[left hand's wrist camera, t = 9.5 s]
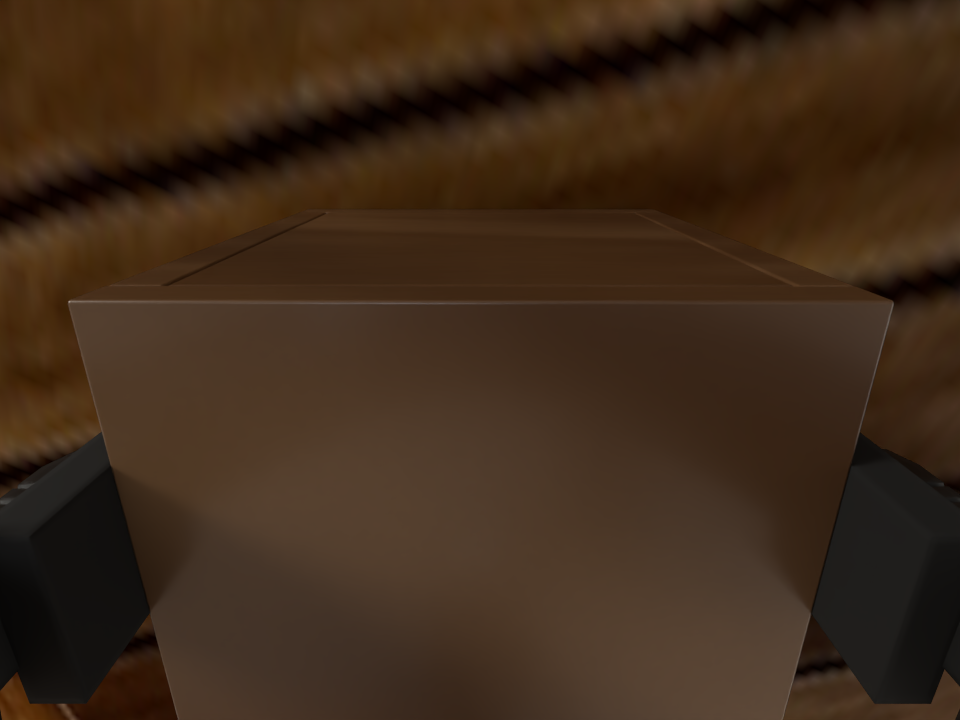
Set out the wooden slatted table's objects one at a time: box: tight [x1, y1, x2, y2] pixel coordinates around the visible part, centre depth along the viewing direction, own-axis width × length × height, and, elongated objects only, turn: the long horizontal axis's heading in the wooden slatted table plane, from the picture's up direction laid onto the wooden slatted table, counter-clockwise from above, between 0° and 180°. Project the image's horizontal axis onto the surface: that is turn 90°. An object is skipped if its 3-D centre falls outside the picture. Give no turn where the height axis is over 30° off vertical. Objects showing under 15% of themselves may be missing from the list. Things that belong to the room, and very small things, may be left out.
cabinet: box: [68, 209, 894, 720], centre depth 16 cm, size 20×10×11 cm, turn 0°
